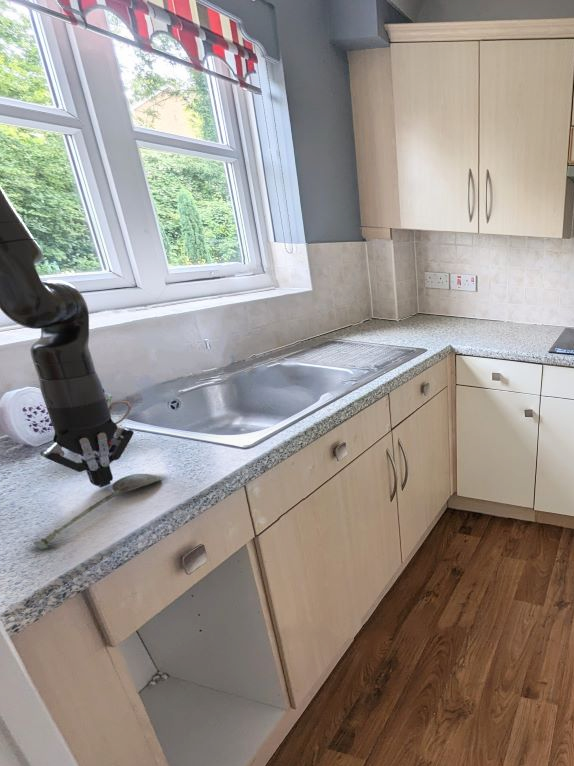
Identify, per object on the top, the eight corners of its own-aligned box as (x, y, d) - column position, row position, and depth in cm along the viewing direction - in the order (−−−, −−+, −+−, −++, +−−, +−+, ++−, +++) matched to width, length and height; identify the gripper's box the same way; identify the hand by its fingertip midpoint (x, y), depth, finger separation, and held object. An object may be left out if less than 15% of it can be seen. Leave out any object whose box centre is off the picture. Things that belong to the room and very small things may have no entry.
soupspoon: (172, 481, 90) (139, 481, 90) (167, 466, 89) (134, 466, 89) (61, 550, 69) (18, 550, 69) (53, 531, 68) (10, 531, 68)
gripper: (110, 385, 86) (133, 465, 92) (12, 405, 75) (46, 496, 81) (132, 392, 83) (154, 474, 89) (33, 414, 72) (66, 507, 78)
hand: (103, 484), depth 85 cm, fingers closed
